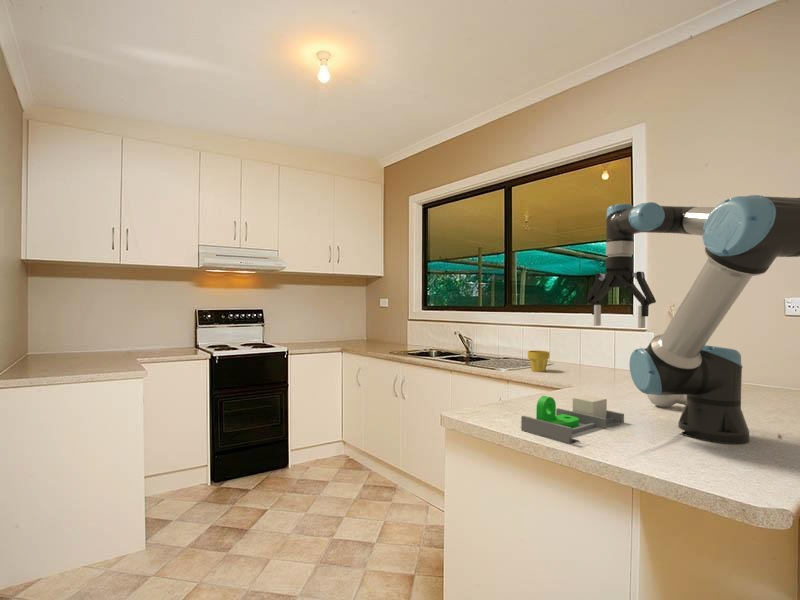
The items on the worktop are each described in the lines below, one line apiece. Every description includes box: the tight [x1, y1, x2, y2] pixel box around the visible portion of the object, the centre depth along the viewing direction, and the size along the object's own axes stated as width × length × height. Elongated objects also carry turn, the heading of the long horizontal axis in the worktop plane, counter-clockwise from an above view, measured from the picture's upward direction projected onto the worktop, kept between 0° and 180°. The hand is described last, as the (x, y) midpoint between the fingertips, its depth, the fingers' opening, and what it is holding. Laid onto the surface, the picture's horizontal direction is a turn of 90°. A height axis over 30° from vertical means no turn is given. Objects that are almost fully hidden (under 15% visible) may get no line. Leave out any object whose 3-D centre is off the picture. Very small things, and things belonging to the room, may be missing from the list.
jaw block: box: [572, 395, 608, 419], centre depth 126 cm, size 6×7×6 cm
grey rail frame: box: [520, 407, 625, 445], centre depth 122 cm, size 14×26×4 cm, turn 127°
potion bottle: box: [646, 394, 687, 409], centre depth 149 cm, size 9×10×15 cm
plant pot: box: [527, 350, 550, 373], centre depth 226 cm, size 10×10×10 cm
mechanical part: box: [535, 395, 579, 428], centre depth 119 cm, size 12×6×8 cm, turn 128°
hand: (618, 326), depth 138 cm, fingers open, 13 cm apart
